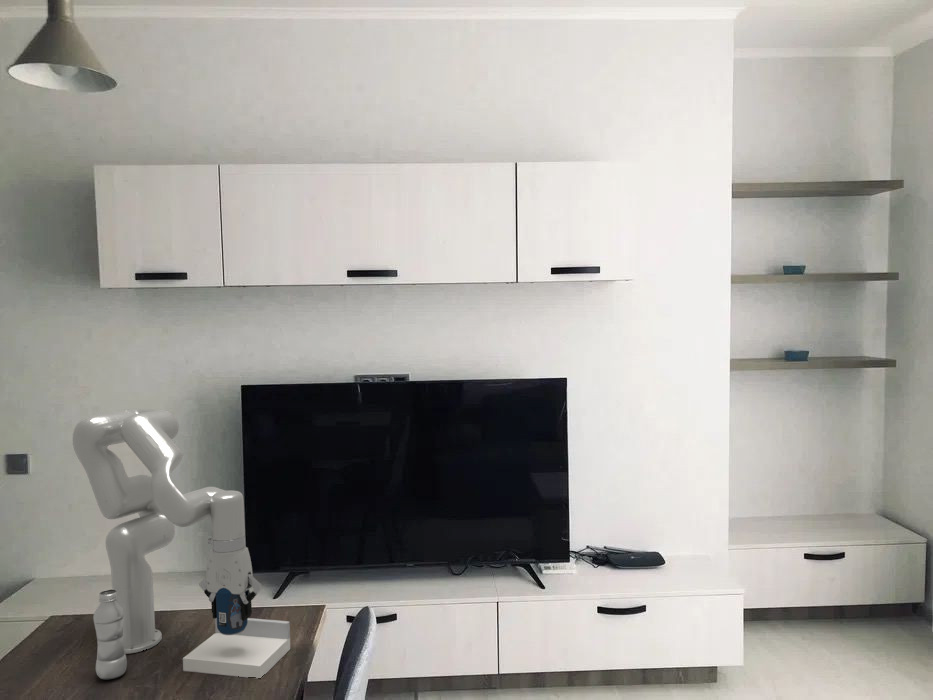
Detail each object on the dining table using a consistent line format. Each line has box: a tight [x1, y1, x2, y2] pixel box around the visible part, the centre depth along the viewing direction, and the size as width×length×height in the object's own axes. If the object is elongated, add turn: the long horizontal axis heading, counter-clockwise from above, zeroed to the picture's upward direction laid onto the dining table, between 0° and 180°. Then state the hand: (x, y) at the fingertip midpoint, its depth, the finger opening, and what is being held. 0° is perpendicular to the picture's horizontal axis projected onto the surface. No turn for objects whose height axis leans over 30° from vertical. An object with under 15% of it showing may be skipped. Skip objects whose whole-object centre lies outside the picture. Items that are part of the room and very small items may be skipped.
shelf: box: [182, 617, 291, 679], centre depth 175 cm, size 20×15×7 cm
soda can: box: [216, 585, 248, 635], centre depth 172 cm, size 7×7×12 cm
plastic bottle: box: [92, 588, 128, 680], centre depth 167 cm, size 6×7×20 cm
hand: (231, 616), depth 172 cm, fingers closed on soda can, 7 cm apart
